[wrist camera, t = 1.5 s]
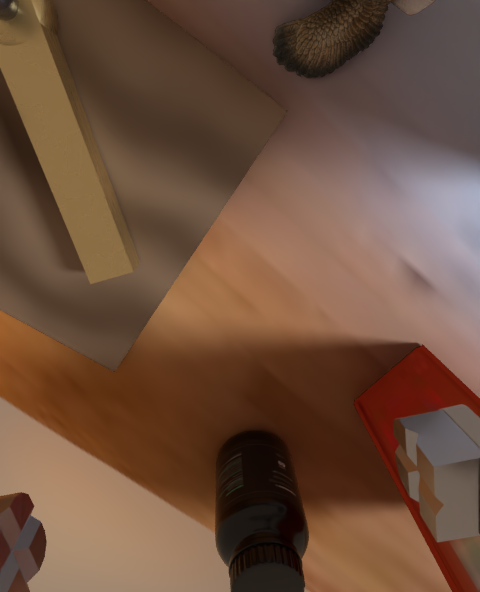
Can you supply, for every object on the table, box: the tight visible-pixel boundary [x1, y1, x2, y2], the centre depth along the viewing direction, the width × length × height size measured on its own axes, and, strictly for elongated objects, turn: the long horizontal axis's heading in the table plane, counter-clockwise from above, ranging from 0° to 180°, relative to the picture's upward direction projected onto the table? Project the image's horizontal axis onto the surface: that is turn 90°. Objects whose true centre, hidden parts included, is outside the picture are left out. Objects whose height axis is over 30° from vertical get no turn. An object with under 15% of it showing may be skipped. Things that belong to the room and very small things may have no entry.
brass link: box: [0, 0, 140, 284], centre depth 24 cm, size 18×4×5 cm, turn 15°
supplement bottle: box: [215, 431, 309, 592], centre depth 32 cm, size 7×7×12 cm
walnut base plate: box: [0, 0, 287, 372], centre depth 28 cm, size 23×22×2 cm
